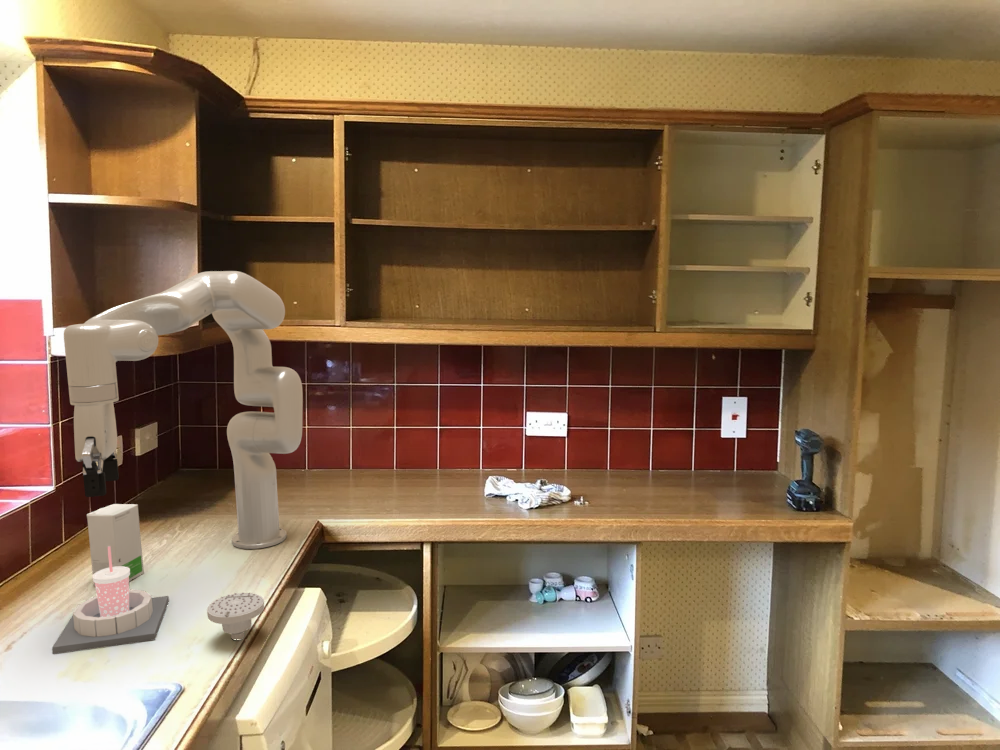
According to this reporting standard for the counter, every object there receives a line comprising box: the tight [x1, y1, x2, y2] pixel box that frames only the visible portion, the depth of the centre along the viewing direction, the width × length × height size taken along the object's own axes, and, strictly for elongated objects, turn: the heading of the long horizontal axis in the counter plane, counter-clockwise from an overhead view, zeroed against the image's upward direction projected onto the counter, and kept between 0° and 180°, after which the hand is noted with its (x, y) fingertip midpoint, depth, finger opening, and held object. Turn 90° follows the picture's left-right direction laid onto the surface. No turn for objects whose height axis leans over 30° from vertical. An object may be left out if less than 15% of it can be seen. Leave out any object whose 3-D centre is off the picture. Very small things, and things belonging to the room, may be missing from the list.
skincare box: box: [86, 503, 145, 587], centre depth 153 cm, size 8×7×16 cm
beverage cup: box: [92, 546, 130, 617], centre depth 133 cm, size 6×6×14 cm
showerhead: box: [206, 592, 265, 640], centre depth 128 cm, size 9×7×10 cm
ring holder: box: [51, 588, 170, 655], centre depth 133 cm, size 16×16×4 cm
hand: (102, 488), depth 130 cm, fingers open, 9 cm apart
